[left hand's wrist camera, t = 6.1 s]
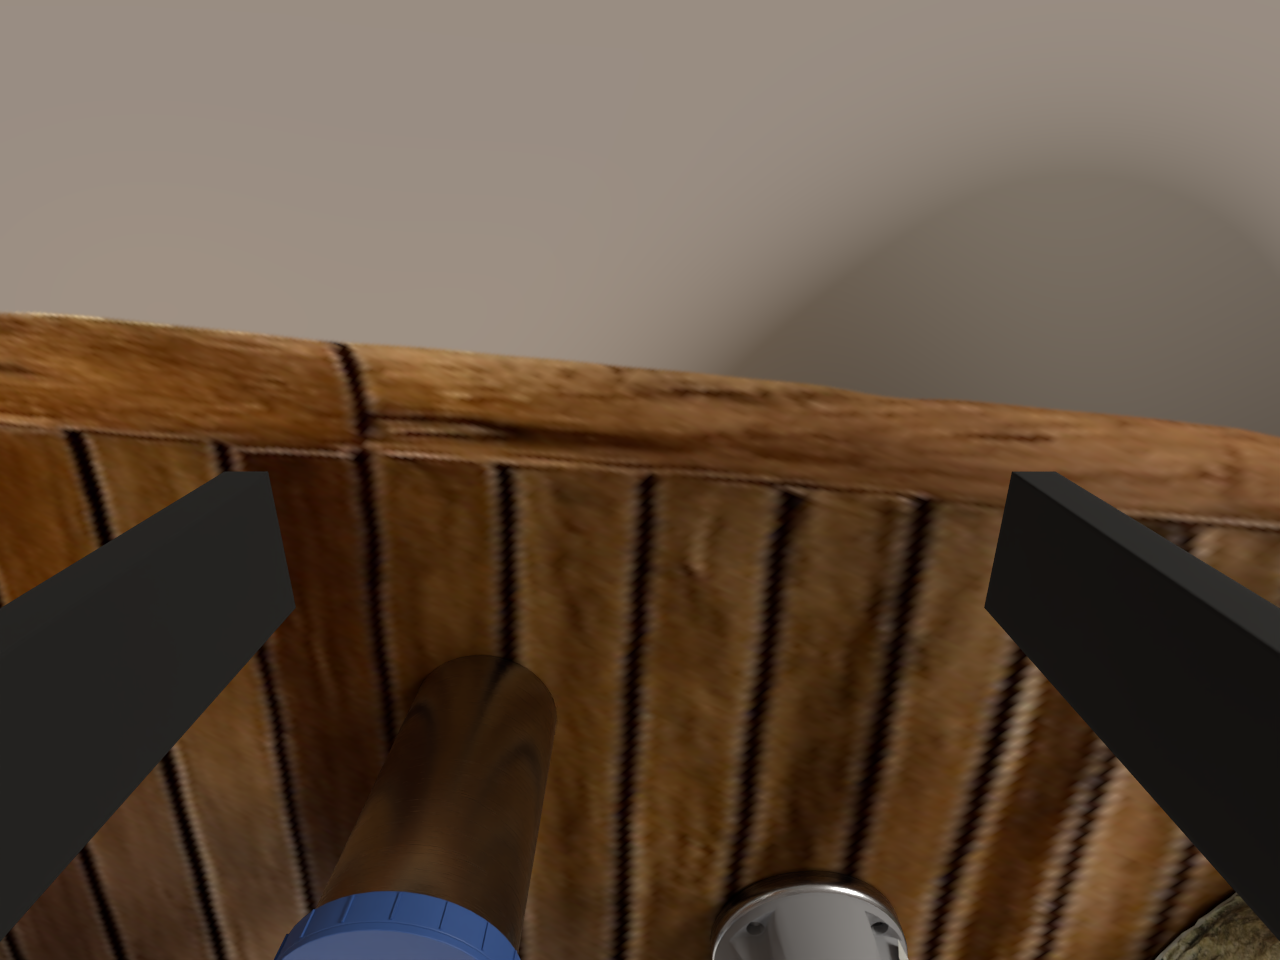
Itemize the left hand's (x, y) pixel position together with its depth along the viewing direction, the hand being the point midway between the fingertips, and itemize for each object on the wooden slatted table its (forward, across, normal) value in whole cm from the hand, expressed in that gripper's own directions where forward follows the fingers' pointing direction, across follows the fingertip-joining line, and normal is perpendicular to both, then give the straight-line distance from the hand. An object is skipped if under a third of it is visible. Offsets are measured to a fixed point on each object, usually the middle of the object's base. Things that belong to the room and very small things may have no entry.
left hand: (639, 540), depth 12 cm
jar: (+28, +11, +27) cm, 40 cm away
